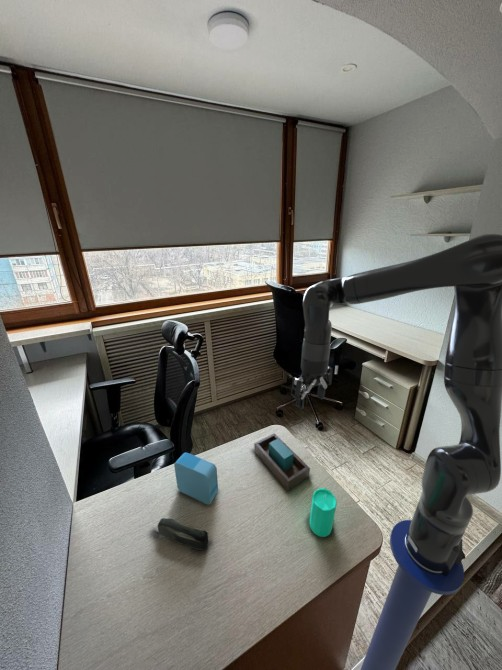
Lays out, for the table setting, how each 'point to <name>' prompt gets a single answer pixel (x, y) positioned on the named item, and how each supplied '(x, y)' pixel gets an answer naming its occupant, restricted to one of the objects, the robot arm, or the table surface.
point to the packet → (281, 455)
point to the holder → (286, 478)
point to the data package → (196, 477)
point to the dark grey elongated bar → (182, 533)
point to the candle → (322, 512)
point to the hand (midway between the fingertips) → (310, 402)
